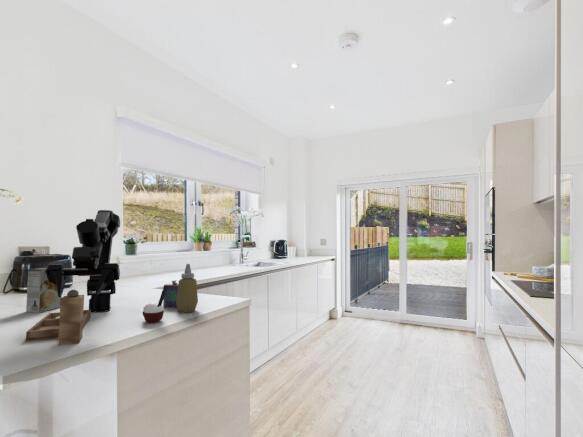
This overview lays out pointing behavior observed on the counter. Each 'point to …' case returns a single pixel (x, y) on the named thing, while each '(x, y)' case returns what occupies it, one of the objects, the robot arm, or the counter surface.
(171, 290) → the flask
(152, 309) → the rice bowl with chopsticks
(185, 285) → the squeeze bottle
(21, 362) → the counter surface
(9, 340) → the counter surface
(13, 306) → the counter surface
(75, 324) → the pepper mill
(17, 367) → the counter surface
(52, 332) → the tray
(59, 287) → the robot arm
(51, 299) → the coffee box
